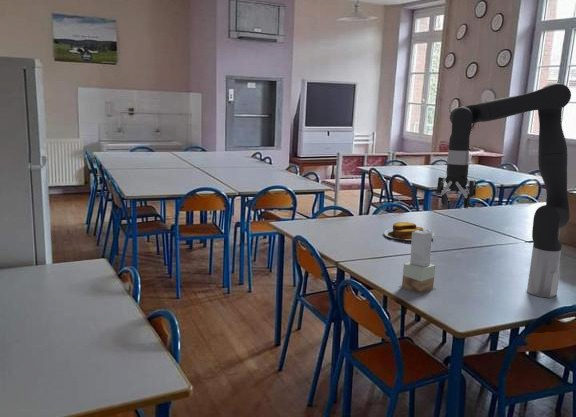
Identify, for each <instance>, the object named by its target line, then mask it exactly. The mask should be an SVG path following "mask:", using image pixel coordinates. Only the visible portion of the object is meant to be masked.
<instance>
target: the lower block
mask: <svg viewBox="0 0 576 417" xmlns="http://www.w3.org/2000/svg"><path fill="white" fill-rule="evenodd" d="M401 280H402V281H401V282H402V283H401V286H402V287H403V288H406V289H409V290H412V291H415V292H418V293H423V292H425V291H428V290H431V289H433V288H434V282H435V276H434V277H433V278H430V279H427V280H424V281H418V280H415V279H412V278H409V277H406V276H403V275H402V279H401ZM403 288H402V289H403Z"/></svg>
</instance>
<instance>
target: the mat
mask: <svg viewBox="0 0 576 417" xmlns="http://www.w3.org/2000/svg"><path fill="white" fill-rule="evenodd" d="M398 288H400V289H402V290H403V289H404V290H406V291H408V292H412V293H415V294H417V295H419V296H422V295H425V294H427V293H430V292H433V291H435V290H437V288H436V287H433V289H431V290H428V291H425V292H423V293H418V292H415V291H412V290H409V289H406V288H403V287H402V285H399V286H398Z"/></svg>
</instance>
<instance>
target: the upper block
mask: <svg viewBox="0 0 576 417" xmlns="http://www.w3.org/2000/svg"><path fill="white" fill-rule="evenodd" d="M402 271H403V272H402V277H403V276H406V277H409V278H412V279H415V280H418V281H424V280H427V279H430V278H433V277H434V278H435V275H436V273H435V272H436V265H435V264H434V263H433V264H432V263H430V265H429V266H426V267H423V266H419V265H415V264H411V263H410V261H408V262H405V263H403V269H402Z"/></svg>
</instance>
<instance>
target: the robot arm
mask: <svg viewBox="0 0 576 417" xmlns="http://www.w3.org/2000/svg"><path fill="white" fill-rule="evenodd" d="M571 99H572V93H571V90H570V88H569V87H568V86H567V85H566V84H564V83H559V82H555V83H551V84H546V85H545V86H543V87H542V88H539V89H537V90H533V91H531V92H527V93H523V94H518V95H514V96H507V97H502V98H496V99H492V100H487V101H484V102H483V101H482V102H480V103H476V104H470V105H464V106H458V107H456V108H454V109H453V110H452V111H451V112H450V115H449V121H450V123H451V134H450V137H449V139H448V140H449V141H448V152H447V159H446V172H445V173H446V174H445V175H446V177H445V176H438V178H437V188H436V193H437V194H440V195H441V204H442V206H447V204H448V194H449V193H450V191H458V192H460V193H461V194H462V195H463V196H464V197H463V205H462V206H463V209H468V208H469V207H470V204H471V203H470V201H471V198H474V197H476V195H477V193H476V192H477V189H476V188H477V184H476V183H477V181H476V179H472V180H470V179H468V175H469V165H470V136H471V132H472V127H473V124H476V123H481V122H482V123H485V122H491V121H496V120H500V119H504V118H505V119H506V118H509V117H513V116H516V115H521V114H522V113H527V112H528V113H529V112H533V111H537V114H538V116H537V117H538V124H539V127H538V129H539V130H538V152H537V154H538V155H537V158H538V170H539V174H540V176H541V179H542V181H543V184H544V187H545V191H546V192H545V193H546V198H545V204H544V205H542V206H539V207H538V208H537V209H536V210H535V212H534V215H533V220H532V221H533V222H532V230H531V231H532V232H531V238H532V242H533V244H532V252H531V259H530V264H529V274H528V281H527V289H526V291H527V292H528V293H529V294H530V295H533V296H536V297H541V298H546V299H547V298H548V299H551V298H553V297H555V296H557V294H558V289H559V288H558V287H559V283H560V282H559V281H560V275H561V269H559V267H560V266H559V265H560V260H561V253H562V248H563V247H562V245H563V242H562V241H561V240H559V229H562V228H565V227H566V226H567V225H568V223H569V221H570V215H571V214H570V212H571V211H570V203H569V196H568V146H567V140H566V137H565V133H564V131H563V126H562V112H563V111H562V109H563V108H564V107H565V106H567V105H568V104H569V103H570V101H571ZM445 182H446V185H445V186H444V184H445ZM467 185H468V187H469V189H468V187H467Z"/></svg>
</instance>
